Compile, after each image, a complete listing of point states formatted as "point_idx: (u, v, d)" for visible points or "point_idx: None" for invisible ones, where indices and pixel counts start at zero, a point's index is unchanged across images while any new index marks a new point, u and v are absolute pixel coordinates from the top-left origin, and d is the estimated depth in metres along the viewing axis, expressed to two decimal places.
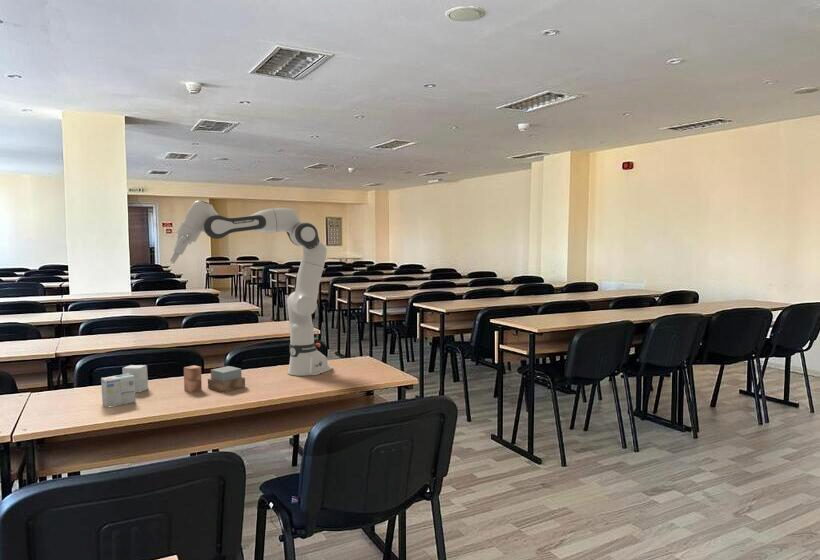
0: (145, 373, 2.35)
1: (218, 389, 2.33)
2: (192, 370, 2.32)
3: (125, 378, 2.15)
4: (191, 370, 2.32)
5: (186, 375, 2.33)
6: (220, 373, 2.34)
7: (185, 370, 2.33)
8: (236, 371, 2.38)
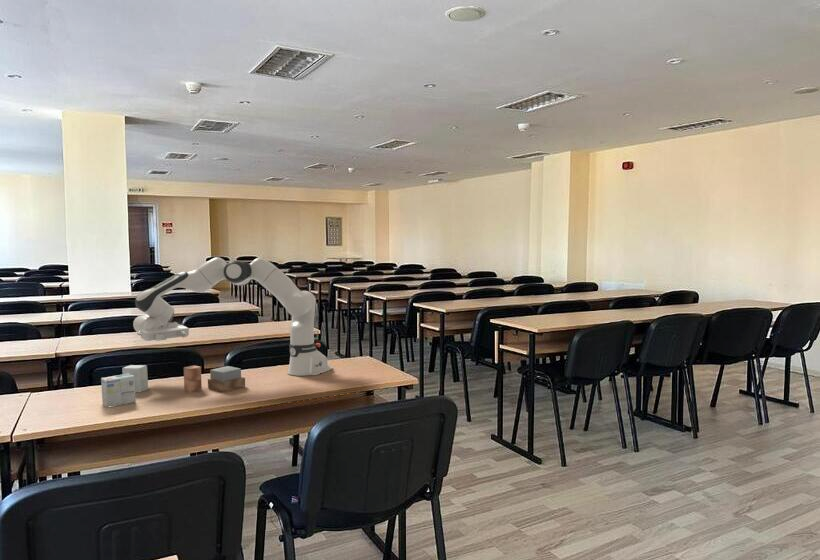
0: (145, 373, 2.35)
1: (218, 389, 2.33)
2: (192, 370, 2.32)
3: (125, 378, 2.15)
4: (191, 370, 2.32)
5: (186, 375, 2.33)
6: (220, 373, 2.34)
7: (185, 370, 2.33)
8: (236, 371, 2.38)
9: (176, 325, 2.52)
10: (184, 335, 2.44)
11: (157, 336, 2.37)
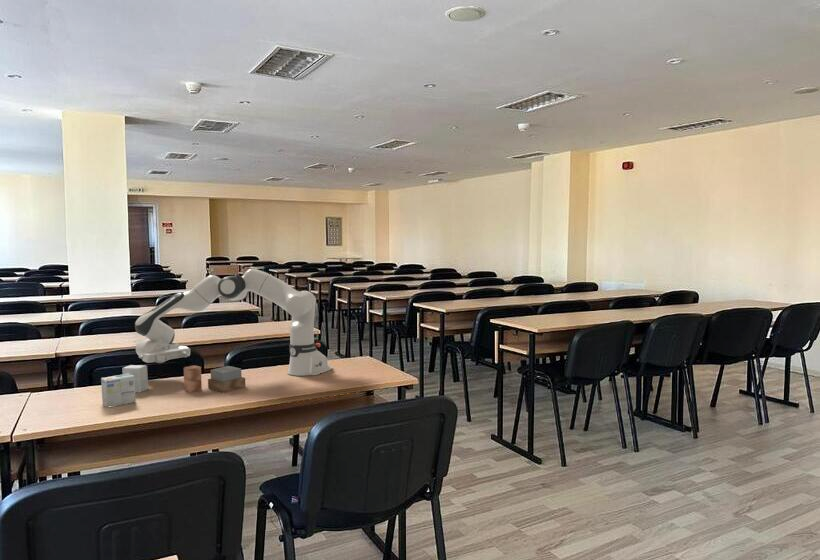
0: (145, 373, 2.35)
1: (218, 389, 2.33)
2: (192, 370, 2.32)
3: (125, 378, 2.15)
4: (191, 370, 2.32)
5: (186, 375, 2.33)
6: (220, 373, 2.34)
7: (185, 370, 2.33)
8: (236, 371, 2.38)
9: (177, 346, 2.54)
10: (185, 355, 2.45)
11: (158, 357, 2.39)
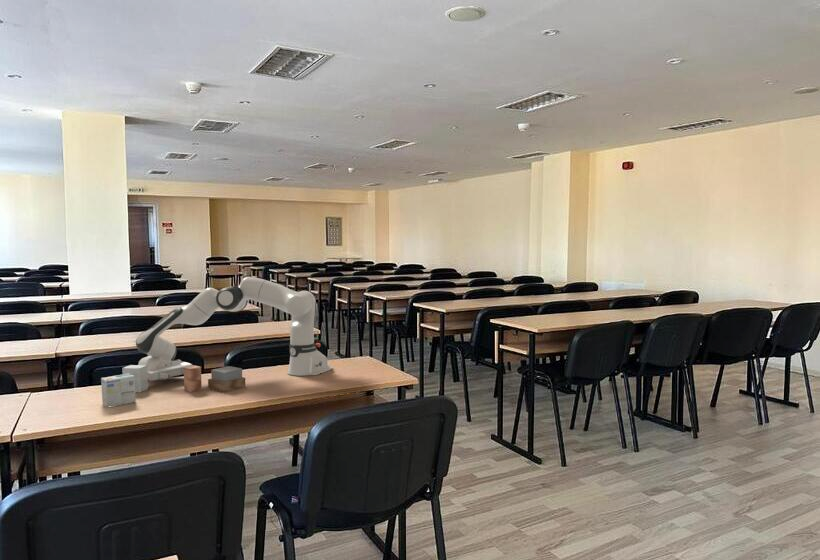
0: (145, 373, 2.35)
1: (218, 389, 2.33)
2: (192, 370, 2.32)
3: (125, 378, 2.15)
4: (191, 370, 2.32)
5: (186, 375, 2.33)
6: (221, 373, 2.34)
7: (185, 370, 2.33)
8: (237, 371, 2.38)
9: (180, 362, 2.54)
10: None
11: (161, 375, 2.39)
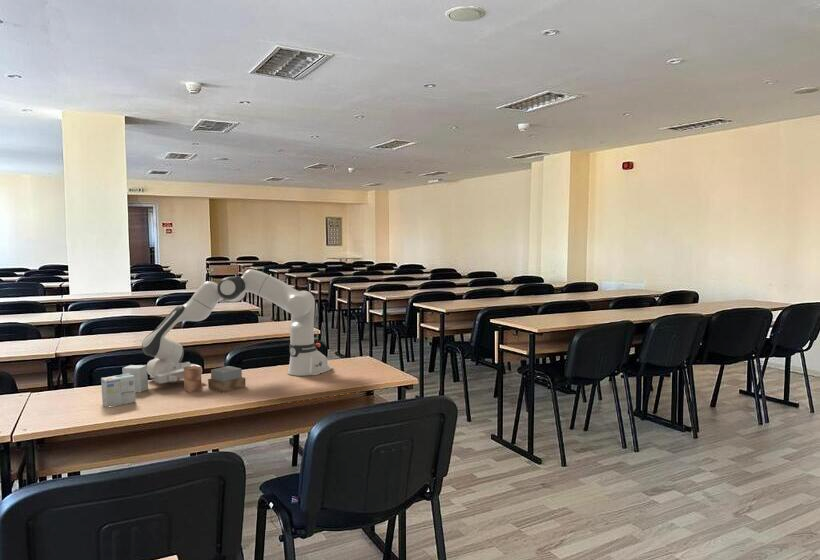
0: (145, 373, 2.35)
1: (218, 389, 2.33)
2: (192, 370, 2.32)
3: (125, 378, 2.15)
4: (191, 370, 2.32)
5: (186, 375, 2.33)
6: (221, 373, 2.34)
7: (185, 370, 2.33)
8: (236, 371, 2.38)
9: (189, 365, 2.49)
10: None
11: (170, 377, 2.34)
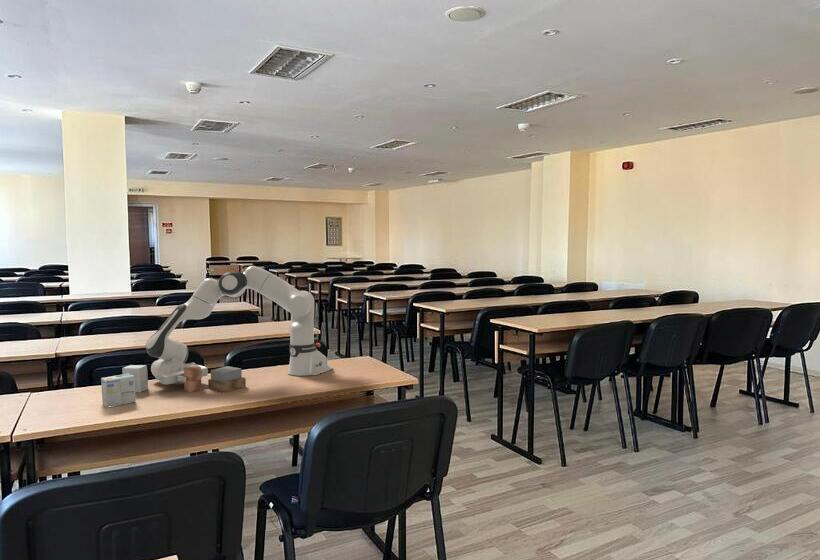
0: (145, 373, 2.35)
1: (219, 389, 2.33)
2: (192, 370, 2.32)
3: (125, 378, 2.15)
4: (191, 370, 2.32)
5: (186, 375, 2.33)
6: (221, 373, 2.33)
7: (185, 370, 2.33)
8: (237, 371, 2.38)
9: None
10: None
11: (179, 378, 2.32)
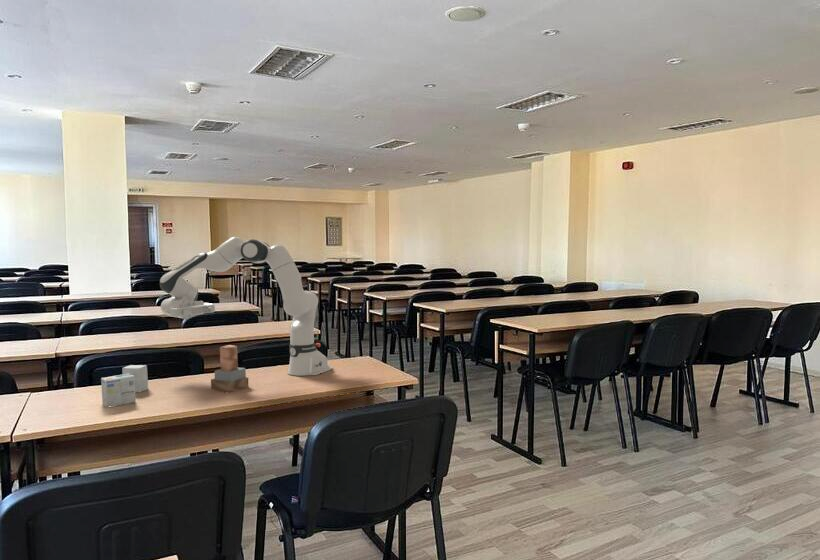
0: (145, 373, 2.35)
1: (222, 389, 2.33)
2: (229, 349, 2.35)
3: (125, 378, 2.15)
4: (228, 349, 2.35)
5: (223, 354, 2.36)
6: (227, 373, 2.33)
7: (222, 349, 2.36)
8: (241, 371, 2.38)
9: (202, 303, 2.59)
10: (210, 310, 2.51)
11: (185, 311, 2.44)
